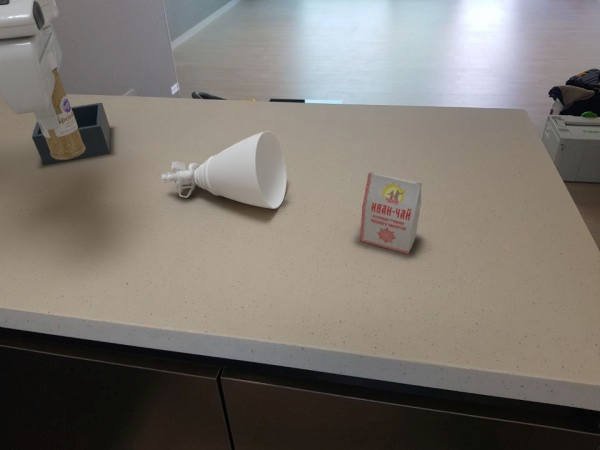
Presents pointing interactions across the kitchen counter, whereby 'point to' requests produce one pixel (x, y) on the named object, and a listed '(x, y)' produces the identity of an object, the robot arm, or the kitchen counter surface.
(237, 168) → the rocket engine
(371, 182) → the tea bag
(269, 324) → the kitchen counter surface
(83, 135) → the box
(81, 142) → the sprinkles bottle
